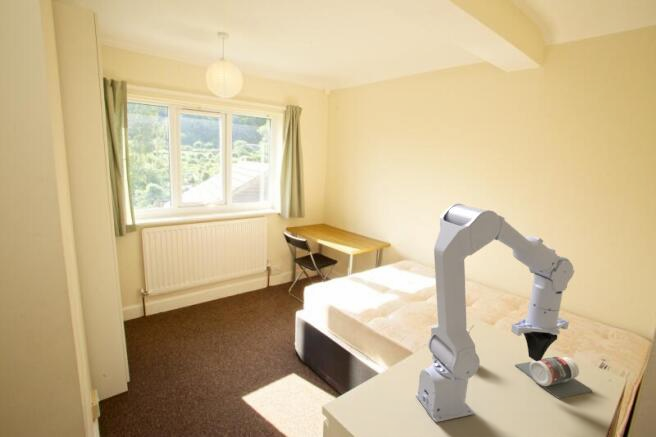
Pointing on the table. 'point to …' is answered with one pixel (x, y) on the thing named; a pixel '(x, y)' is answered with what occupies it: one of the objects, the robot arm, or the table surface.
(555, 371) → the pill bottle
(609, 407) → the table surface
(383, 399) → the table surface
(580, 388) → the mat
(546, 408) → the table surface
